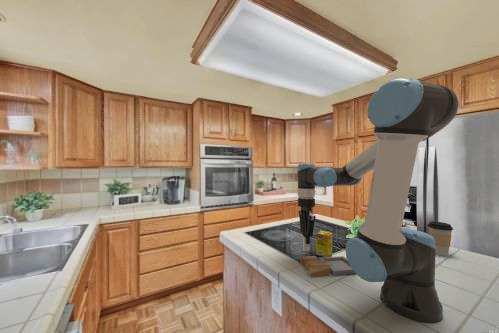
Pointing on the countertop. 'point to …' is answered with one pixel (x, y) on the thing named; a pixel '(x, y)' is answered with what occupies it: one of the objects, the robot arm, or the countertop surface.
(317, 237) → the supplement box
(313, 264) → the block
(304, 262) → the brown wooden block
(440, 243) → the coffee cup
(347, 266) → the tray
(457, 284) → the countertop surface
